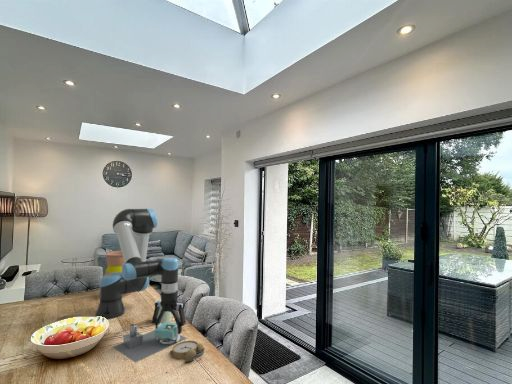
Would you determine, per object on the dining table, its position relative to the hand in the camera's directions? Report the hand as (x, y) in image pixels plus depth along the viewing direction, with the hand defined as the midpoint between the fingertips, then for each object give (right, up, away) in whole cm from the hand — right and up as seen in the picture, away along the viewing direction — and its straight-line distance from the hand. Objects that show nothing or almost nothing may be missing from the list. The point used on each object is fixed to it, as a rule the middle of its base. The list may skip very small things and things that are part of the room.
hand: (168, 339), depth 130 cm
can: (-10, -3, +23) cm, 25 cm away
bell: (0, -1, 0) cm, 1 cm away
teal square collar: (0, +3, 0) cm, 3 cm away
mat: (-8, -1, -2) cm, 8 cm away
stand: (-15, 0, -3) cm, 16 cm away
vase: (-58, -5, +70) cm, 91 cm away
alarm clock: (+12, -1, -11) cm, 17 cm away
